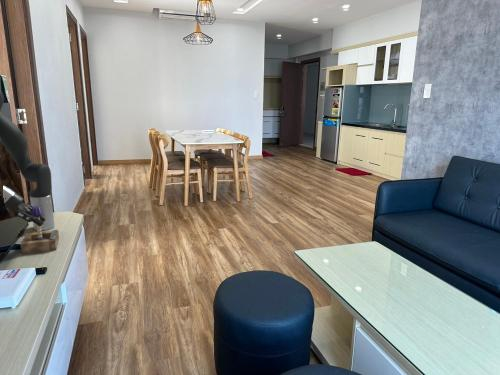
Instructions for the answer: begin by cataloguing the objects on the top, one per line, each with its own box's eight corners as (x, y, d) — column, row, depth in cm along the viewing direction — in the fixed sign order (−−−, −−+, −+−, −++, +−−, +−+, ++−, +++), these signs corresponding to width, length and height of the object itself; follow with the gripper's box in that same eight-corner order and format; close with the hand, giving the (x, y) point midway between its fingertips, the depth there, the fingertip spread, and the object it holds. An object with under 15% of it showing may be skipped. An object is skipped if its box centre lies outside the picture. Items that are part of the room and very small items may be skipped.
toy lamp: (41, 244, 155) (38, 208, 152) (31, 244, 155) (27, 207, 152) (48, 240, 160) (44, 205, 156) (37, 240, 160) (34, 205, 156)
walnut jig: (21, 254, 150) (20, 243, 149) (27, 242, 162) (26, 232, 161) (56, 250, 155) (54, 239, 154) (59, 239, 167) (58, 229, 165)
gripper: (9, 196, 143) (46, 222, 150) (18, 188, 156) (51, 212, 163) (-4, 209, 142) (33, 234, 150) (5, 200, 155) (40, 223, 162)
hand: (42, 222), depth 156 cm, fingers closed on toy lamp, 4 cm apart
